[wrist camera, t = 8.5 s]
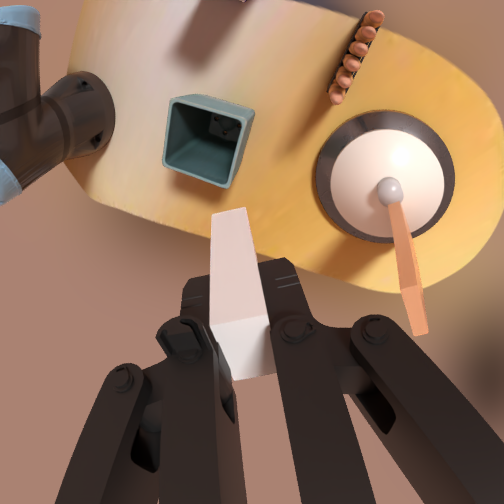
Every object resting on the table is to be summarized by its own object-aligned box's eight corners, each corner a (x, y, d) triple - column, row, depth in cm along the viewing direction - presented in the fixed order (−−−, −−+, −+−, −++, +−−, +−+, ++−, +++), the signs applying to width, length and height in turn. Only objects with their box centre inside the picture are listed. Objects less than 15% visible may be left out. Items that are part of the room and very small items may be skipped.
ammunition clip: (341, 94, 30) (341, 117, 22) (327, 87, 30) (320, 106, 22) (378, 22, 23) (395, 10, 14) (363, 14, 23) (373, -1, 14)
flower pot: (193, 140, 40) (160, 166, 33) (204, 83, 34) (169, 97, 27) (250, 160, 40) (228, 190, 33) (268, 101, 34) (247, 119, 27)
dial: (310, 154, 35) (285, 234, 23) (421, 111, 27) (476, 171, 15) (358, 249, 42) (353, 348, 30) (453, 220, 34) (487, 316, 22)
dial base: (316, 103, 32) (313, 109, 29) (463, 123, 27) (474, 133, 24) (314, 231, 44) (311, 247, 41) (434, 244, 39) (440, 262, 36)
